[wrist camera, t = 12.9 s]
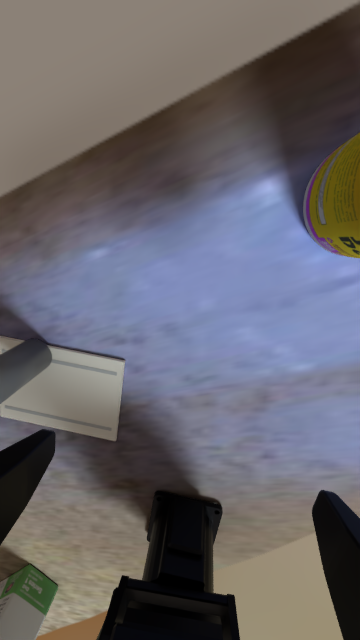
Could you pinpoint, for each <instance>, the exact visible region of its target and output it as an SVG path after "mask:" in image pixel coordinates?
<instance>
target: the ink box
mask: <svg viewBox="0 0 360 640" xmlns="http://www.w3.org/2000/svg"><path fill="white" fill-rule="evenodd" d="M57 590H58V586H57V585H56V584H55V583H53V582H52V581H51V580H49V579H48V578H47V577H46V576H44V575H43V574H42V573H41V572H39V571H38V570H37V569H35V568H34V567H33V566H32V565H30V564H29V565H27V566H26V567H24V568H23V569H21V570H19V571H18V572H16V573H14V574H13V575H11V576H10V577H8V578H6V579H5V580H3V581H1V582H0V640H36V638H37V635H38V633H39V631H40V628H41V626H42V624H43V622H44V619H45V617H46V615H47V612H48V610H49V608H50V606H51V603H52V601H53V599H54V596H55V594H56V592H57Z"/></svg>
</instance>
